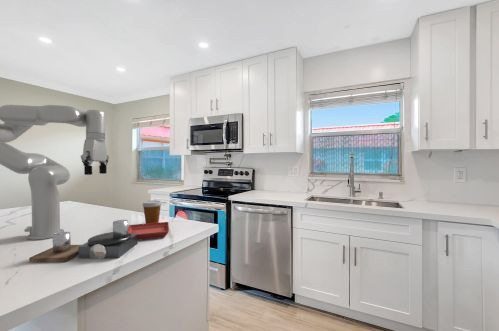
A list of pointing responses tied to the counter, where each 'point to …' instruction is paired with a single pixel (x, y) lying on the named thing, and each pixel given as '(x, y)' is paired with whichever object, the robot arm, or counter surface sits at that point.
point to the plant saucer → (149, 230)
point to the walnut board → (55, 255)
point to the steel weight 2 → (120, 229)
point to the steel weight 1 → (61, 242)
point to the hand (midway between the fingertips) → (95, 174)
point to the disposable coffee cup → (152, 211)
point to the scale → (107, 246)
